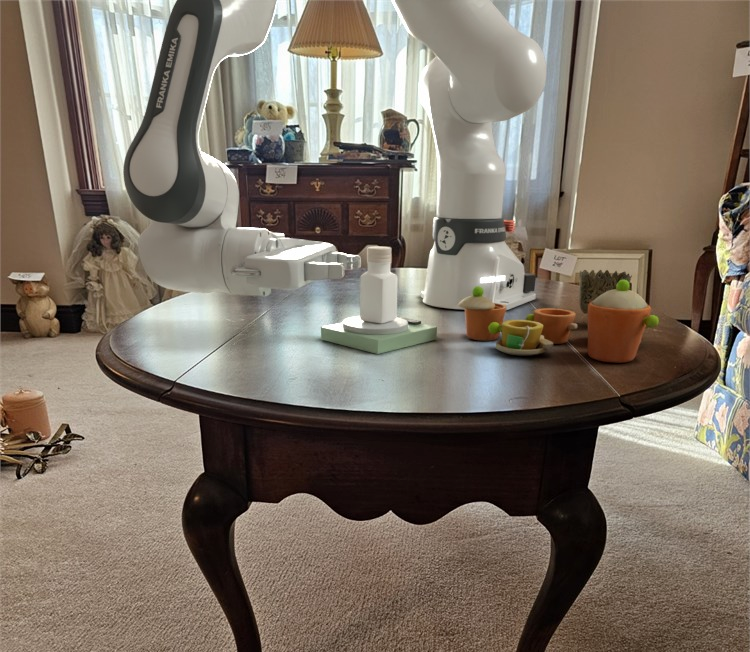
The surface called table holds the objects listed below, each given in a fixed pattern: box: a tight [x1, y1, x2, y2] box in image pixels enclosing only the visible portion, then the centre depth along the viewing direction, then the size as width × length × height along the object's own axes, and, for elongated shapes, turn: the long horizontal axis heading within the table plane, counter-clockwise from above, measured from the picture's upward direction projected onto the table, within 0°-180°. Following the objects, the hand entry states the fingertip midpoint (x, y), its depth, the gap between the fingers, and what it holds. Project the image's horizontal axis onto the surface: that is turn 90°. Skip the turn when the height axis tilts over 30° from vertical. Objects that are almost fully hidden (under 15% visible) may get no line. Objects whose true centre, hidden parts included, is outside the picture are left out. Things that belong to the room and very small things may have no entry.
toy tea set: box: [458, 280, 660, 364], centre depth 87 cm, size 26×16×10 cm, turn 79°
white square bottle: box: [359, 245, 399, 324], centre depth 88 cm, size 4×4×10 cm
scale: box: [320, 315, 438, 355], centre depth 91 cm, size 12×11×3 cm
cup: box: [578, 269, 633, 327], centre depth 99 cm, size 8×7×8 cm
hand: (352, 266), depth 88 cm, fingers open, 8 cm apart
